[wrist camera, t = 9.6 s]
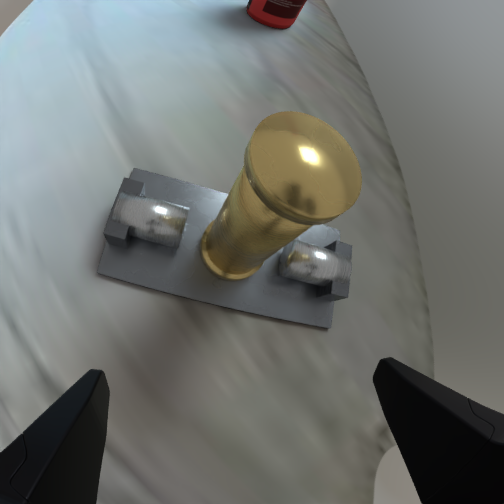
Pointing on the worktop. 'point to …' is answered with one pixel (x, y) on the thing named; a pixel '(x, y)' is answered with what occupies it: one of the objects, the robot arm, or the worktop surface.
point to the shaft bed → (190, 262)
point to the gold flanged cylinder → (280, 193)
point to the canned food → (275, 12)
